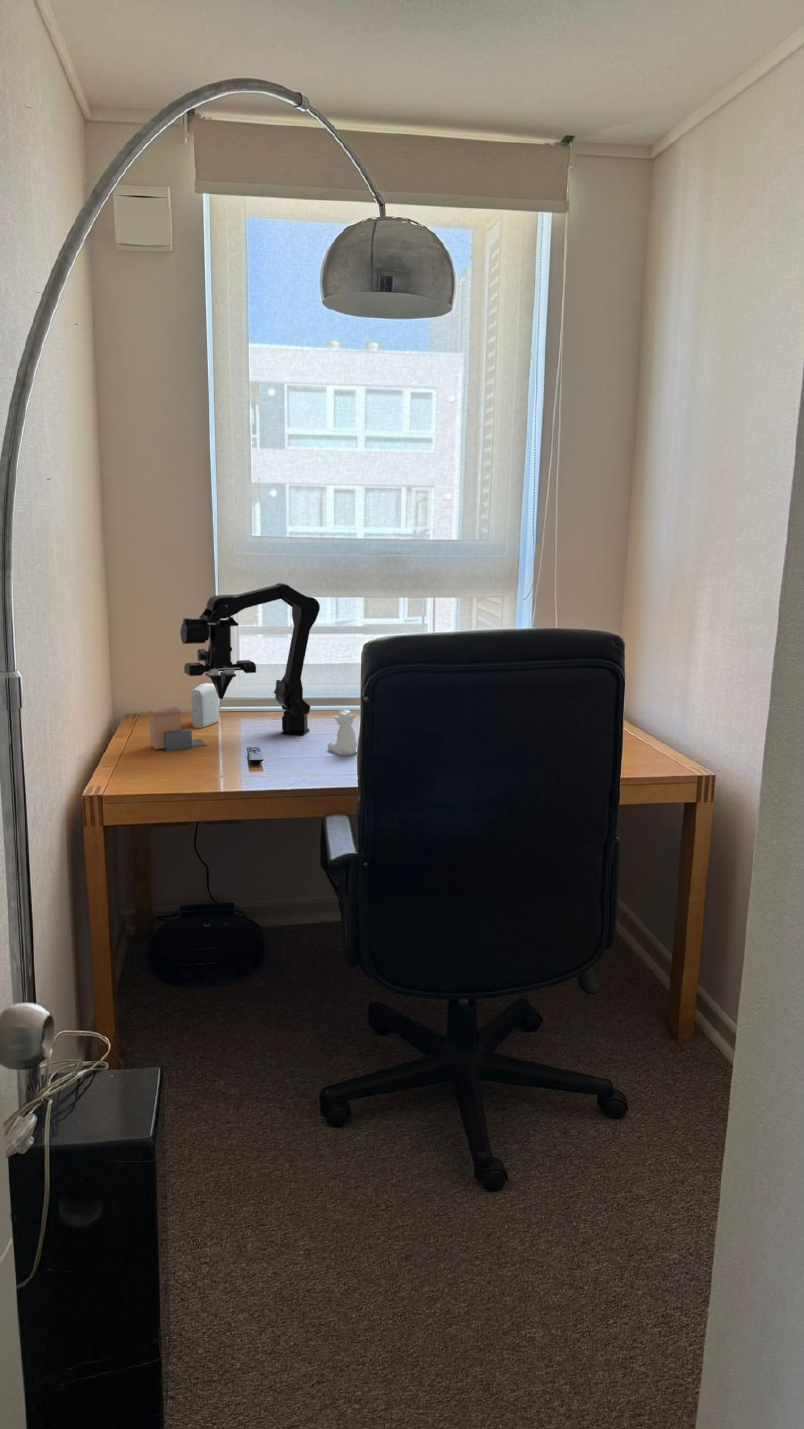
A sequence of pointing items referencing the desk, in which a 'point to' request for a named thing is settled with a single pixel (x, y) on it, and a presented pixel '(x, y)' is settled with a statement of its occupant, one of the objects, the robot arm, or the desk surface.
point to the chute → (181, 740)
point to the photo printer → (204, 705)
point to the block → (163, 724)
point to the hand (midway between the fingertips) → (220, 698)
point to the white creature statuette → (344, 735)
